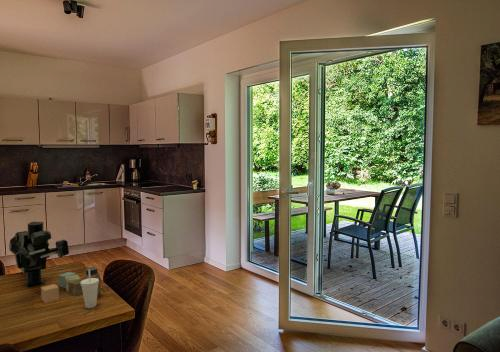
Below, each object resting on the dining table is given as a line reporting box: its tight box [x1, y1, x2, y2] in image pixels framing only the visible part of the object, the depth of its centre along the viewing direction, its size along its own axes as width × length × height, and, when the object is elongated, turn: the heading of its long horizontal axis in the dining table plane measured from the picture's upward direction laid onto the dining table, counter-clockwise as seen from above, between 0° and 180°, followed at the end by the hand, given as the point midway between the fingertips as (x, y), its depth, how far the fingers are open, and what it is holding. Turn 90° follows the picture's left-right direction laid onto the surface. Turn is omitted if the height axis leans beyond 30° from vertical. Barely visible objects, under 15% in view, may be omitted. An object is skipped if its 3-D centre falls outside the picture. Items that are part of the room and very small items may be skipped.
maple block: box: [65, 274, 81, 293], centre depth 155 cm, size 5×5×5 cm
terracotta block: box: [40, 283, 60, 304], centre depth 145 cm, size 5×5×5 cm
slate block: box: [58, 271, 78, 289], centre depth 159 cm, size 5×5×5 cm
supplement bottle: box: [83, 266, 102, 298], centre depth 147 cm, size 6×6×11 cm
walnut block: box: [68, 277, 84, 297], centre depth 151 cm, size 5×5×5 cm
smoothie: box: [80, 270, 99, 309], centre depth 137 cm, size 6×6×14 cm
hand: (49, 259), depth 143 cm, fingers open, 9 cm apart
